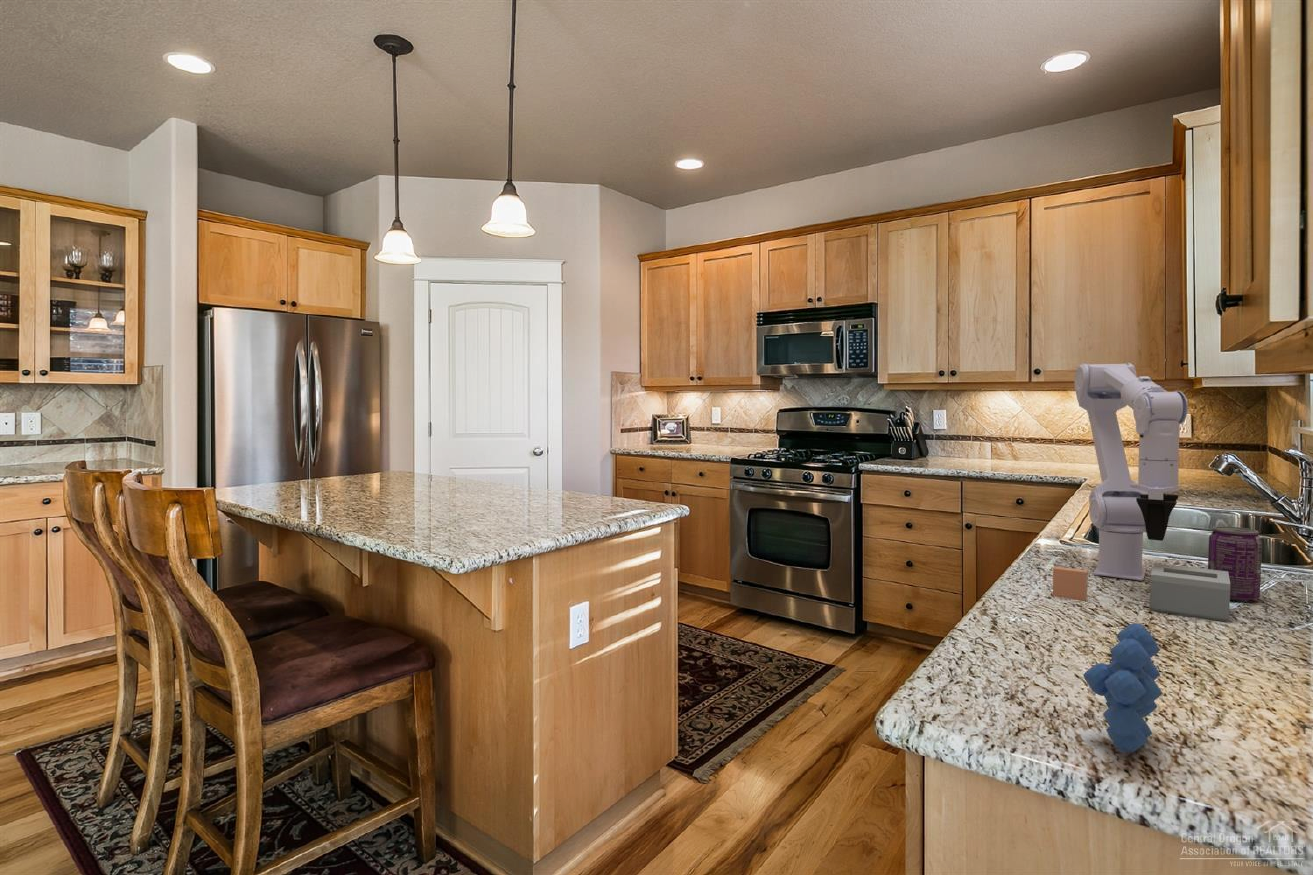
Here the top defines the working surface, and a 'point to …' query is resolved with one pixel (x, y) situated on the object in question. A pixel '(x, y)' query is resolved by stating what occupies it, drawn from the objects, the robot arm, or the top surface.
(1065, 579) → the block
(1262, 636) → the top surface
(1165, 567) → the coin box
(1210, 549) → the beverage can
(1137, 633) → the grapes
